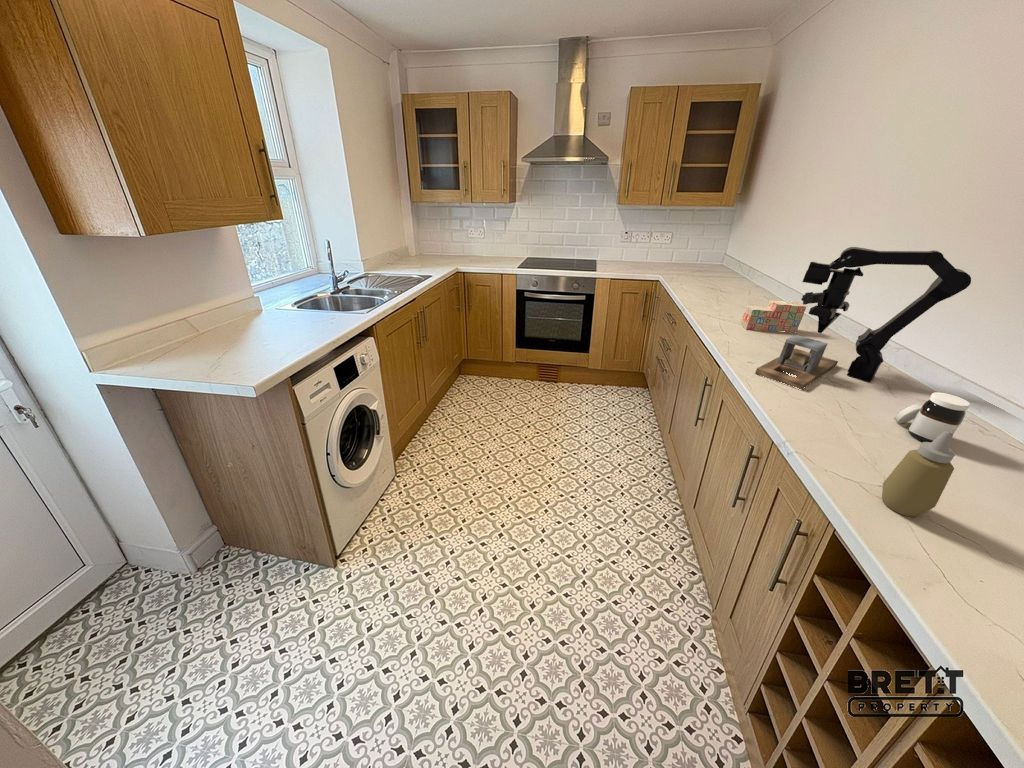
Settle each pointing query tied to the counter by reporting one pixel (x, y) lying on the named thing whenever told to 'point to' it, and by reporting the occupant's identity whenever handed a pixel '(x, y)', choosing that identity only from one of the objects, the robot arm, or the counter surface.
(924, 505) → the squeeze bottle
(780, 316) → the stack of blocks
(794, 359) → the maple block
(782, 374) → the tunnel deck
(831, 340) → the counter surface
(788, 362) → the sled
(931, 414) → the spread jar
